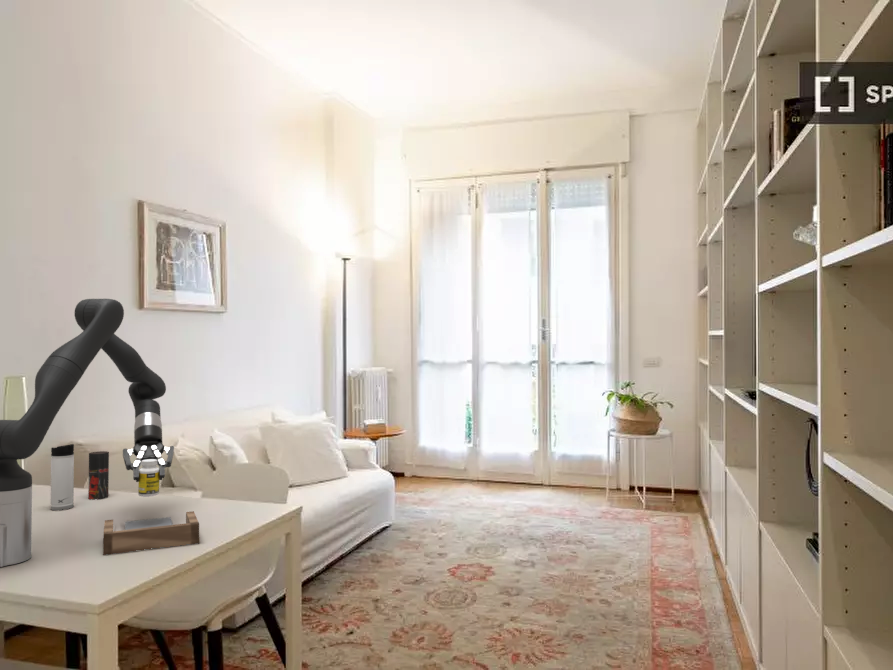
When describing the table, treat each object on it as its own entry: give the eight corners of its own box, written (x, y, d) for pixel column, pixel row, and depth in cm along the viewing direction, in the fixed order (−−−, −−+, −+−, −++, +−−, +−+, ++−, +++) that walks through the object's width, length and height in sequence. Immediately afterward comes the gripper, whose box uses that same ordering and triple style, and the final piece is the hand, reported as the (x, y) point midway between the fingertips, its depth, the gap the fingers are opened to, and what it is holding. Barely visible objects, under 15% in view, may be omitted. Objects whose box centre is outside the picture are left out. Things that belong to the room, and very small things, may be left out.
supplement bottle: (145, 497, 185) (146, 462, 185) (134, 495, 187) (134, 460, 187) (163, 494, 189) (163, 459, 189) (151, 491, 192) (151, 457, 192)
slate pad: (125, 523, 191) (125, 521, 191) (170, 518, 196) (170, 516, 196) (125, 534, 180) (125, 532, 180) (173, 528, 185) (173, 527, 185)
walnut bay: (104, 539, 175) (104, 520, 175) (193, 529, 185) (193, 511, 185) (103, 555, 162) (103, 534, 162) (199, 543, 172) (199, 523, 172)
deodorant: (112, 497, 224) (112, 452, 224) (94, 500, 219) (95, 454, 219) (102, 494, 227) (102, 450, 227) (84, 498, 222) (85, 453, 222)
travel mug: (64, 511, 205) (64, 446, 205) (45, 510, 206) (46, 445, 206) (79, 506, 211) (79, 443, 211) (61, 505, 212) (61, 442, 212)
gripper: (121, 424, 192) (120, 473, 181) (174, 422, 198) (177, 469, 187) (121, 440, 197) (120, 489, 186) (173, 437, 203) (176, 484, 192)
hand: (149, 479), depth 187 cm, fingers closed on supplement bottle, 5 cm apart
